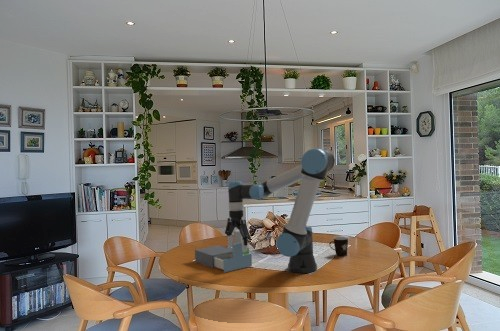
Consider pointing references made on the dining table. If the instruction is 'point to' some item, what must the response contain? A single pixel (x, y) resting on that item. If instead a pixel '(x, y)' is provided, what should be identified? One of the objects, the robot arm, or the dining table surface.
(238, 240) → the skincare box
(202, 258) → the slate blue box
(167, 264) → the dining table surface
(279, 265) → the dining table surface
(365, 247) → the dining table surface
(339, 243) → the coffee mug
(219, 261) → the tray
